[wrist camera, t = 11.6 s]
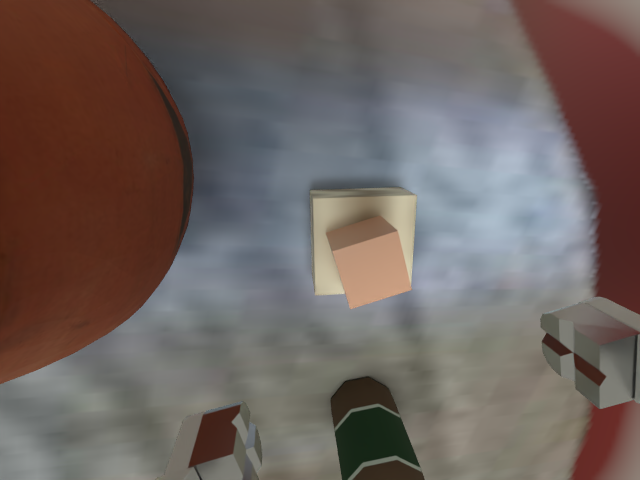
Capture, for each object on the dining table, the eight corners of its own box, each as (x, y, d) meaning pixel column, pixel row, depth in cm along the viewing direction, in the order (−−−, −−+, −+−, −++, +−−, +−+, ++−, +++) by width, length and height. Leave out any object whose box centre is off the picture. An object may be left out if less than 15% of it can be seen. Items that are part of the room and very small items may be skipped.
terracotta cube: (341, 282, 31) (350, 309, 26) (325, 232, 30) (332, 251, 25) (392, 266, 31) (411, 289, 26) (380, 215, 30) (397, 230, 25)
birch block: (311, 274, 36) (315, 295, 31) (309, 189, 33) (312, 198, 29) (394, 270, 37) (410, 290, 32) (399, 186, 34) (416, 195, 29)
